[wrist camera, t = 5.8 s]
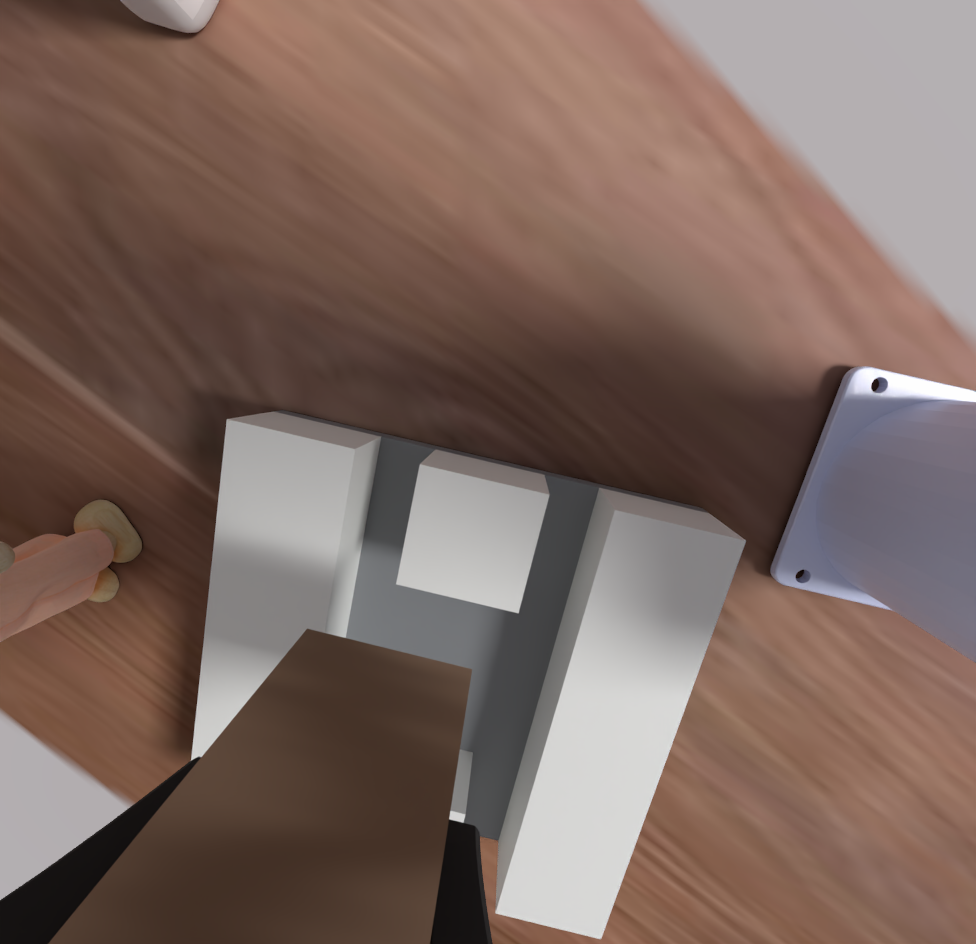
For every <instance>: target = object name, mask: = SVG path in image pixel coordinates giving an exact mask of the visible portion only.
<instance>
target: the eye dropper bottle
mask: <svg viewBox="0 0 976 944" xmlns="http://www.w3.org/2000/svg"><path fill="white" fill-rule="evenodd" d="M120 1H121V2H122V3H123V4H124V5H125V6H126V7H127V8H129V9H130V10H131V11H132V12H133V13H134V14H136V15H137V16H139V17H140V18H141V19H143V20H145V21H147V22H150V23H153V24H156V25H160V26H163V27H166V28H170V29H173V30H177V31H181V32H185V33H196V32H199V31H200V30H201V29H202V28H204V27H205V26H206V25H207V23H208V21H209V20H210V18H211V17H212V15H213V13H214V11H215V9H216V7H217V5H218V2H219V0H120Z"/></svg>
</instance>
